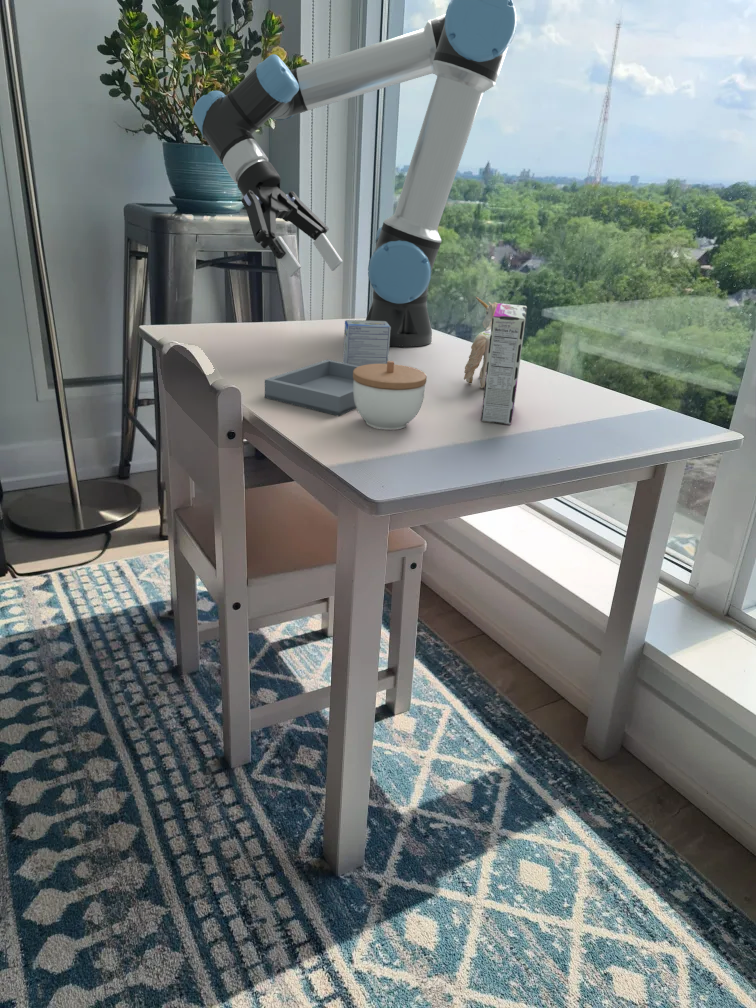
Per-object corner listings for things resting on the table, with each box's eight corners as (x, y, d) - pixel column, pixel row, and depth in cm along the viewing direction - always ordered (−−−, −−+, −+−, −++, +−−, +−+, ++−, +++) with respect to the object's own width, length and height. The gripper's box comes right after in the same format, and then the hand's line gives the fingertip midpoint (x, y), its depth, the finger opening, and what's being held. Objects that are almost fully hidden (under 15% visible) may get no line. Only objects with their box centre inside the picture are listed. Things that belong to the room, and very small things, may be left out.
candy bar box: (483, 402, 128) (496, 302, 121) (514, 405, 127) (528, 305, 120) (478, 422, 118) (491, 314, 111) (511, 426, 117) (526, 317, 110)
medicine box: (383, 366, 145) (386, 320, 142) (387, 372, 141) (391, 325, 138) (342, 365, 144) (344, 319, 140) (345, 372, 140) (347, 324, 136)
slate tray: (327, 375, 136) (327, 359, 135) (395, 391, 130) (397, 373, 129) (264, 397, 122) (264, 379, 121) (338, 416, 116) (339, 396, 115)
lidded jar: (398, 440, 108) (404, 375, 104) (336, 424, 112) (339, 361, 109) (434, 422, 116) (440, 361, 112) (375, 408, 121) (378, 349, 117)
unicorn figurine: (504, 369, 149) (514, 299, 144) (503, 397, 131) (514, 318, 126) (467, 366, 150) (475, 296, 144) (461, 392, 132) (470, 314, 127)
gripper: (281, 188, 153) (340, 276, 153) (195, 186, 133) (263, 288, 132) (304, 161, 148) (365, 251, 148) (218, 155, 128) (289, 260, 128)
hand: (317, 269), depth 140 cm, fingers open, 13 cm apart
